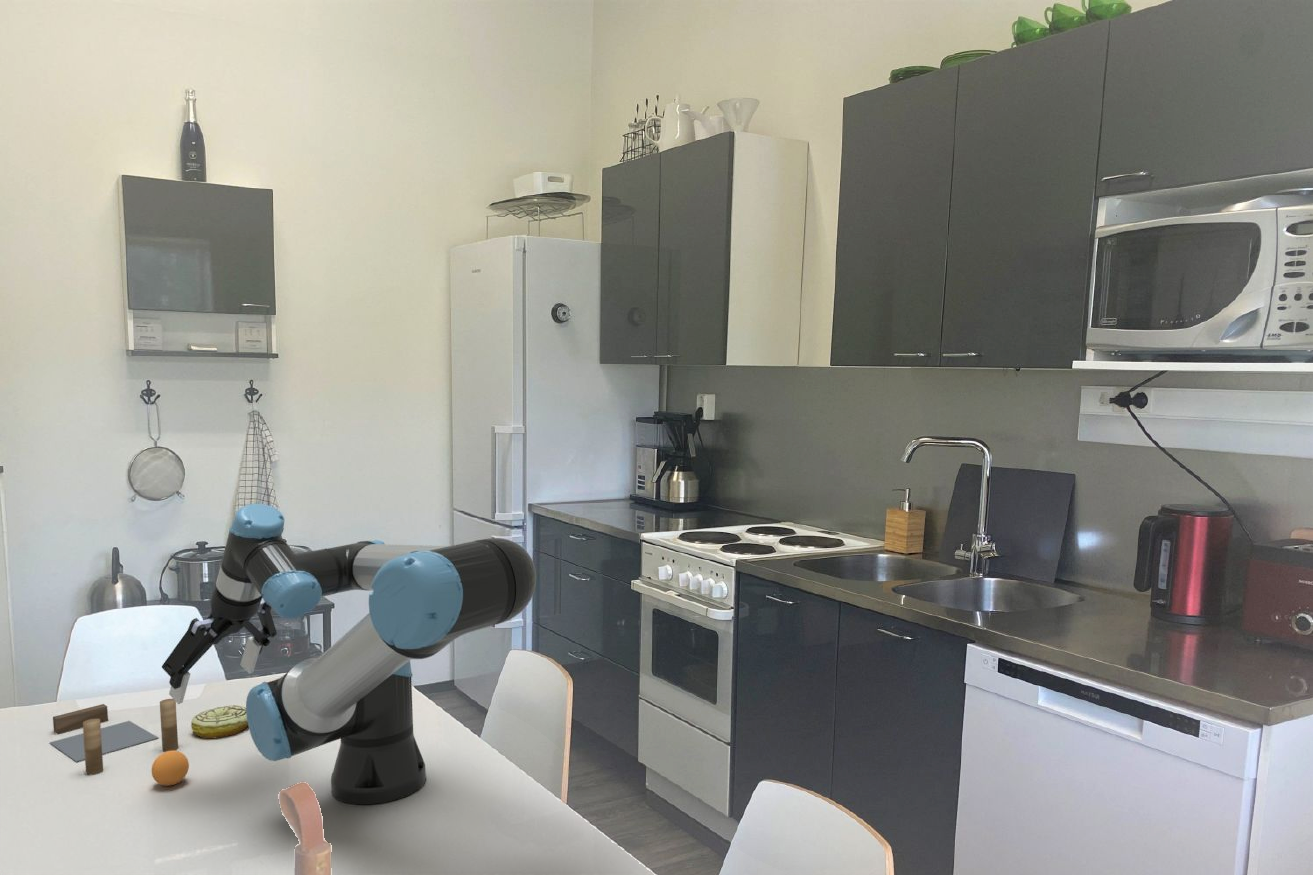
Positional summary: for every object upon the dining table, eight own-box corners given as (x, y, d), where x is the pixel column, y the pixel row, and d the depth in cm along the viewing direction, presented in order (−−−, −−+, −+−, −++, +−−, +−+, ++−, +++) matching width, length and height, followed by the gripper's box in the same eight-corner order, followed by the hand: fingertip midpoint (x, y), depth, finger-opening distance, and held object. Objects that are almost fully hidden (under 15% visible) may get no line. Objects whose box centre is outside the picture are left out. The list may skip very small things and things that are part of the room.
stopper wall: (108, 720, 190) (107, 706, 190) (57, 734, 183) (56, 719, 183) (104, 718, 191) (103, 703, 191) (53, 731, 185) (52, 716, 184)
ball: (195, 782, 160) (193, 750, 160) (160, 794, 156) (158, 761, 156) (181, 774, 164) (179, 742, 163) (146, 785, 160) (145, 752, 159)
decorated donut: (264, 725, 187) (263, 707, 186) (215, 744, 177) (214, 725, 177) (229, 716, 192) (228, 698, 191) (180, 735, 182) (179, 715, 182)
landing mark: (158, 738, 180) (158, 737, 180) (76, 762, 170) (76, 761, 170) (129, 721, 189) (129, 720, 189) (49, 743, 179) (49, 742, 179)
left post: (105, 770, 166) (102, 720, 165) (89, 775, 164) (85, 725, 163) (100, 767, 167) (96, 717, 167) (83, 772, 165) (80, 721, 165)
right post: (180, 748, 175) (177, 700, 175) (165, 752, 173) (163, 704, 173) (174, 744, 177) (172, 697, 176) (160, 749, 175) (157, 701, 174)
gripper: (288, 555, 168) (260, 645, 176) (154, 597, 147) (129, 697, 155) (315, 580, 165) (286, 669, 174) (182, 626, 144) (156, 726, 152)
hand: (212, 683), depth 164 cm, fingers open, 13 cm apart
